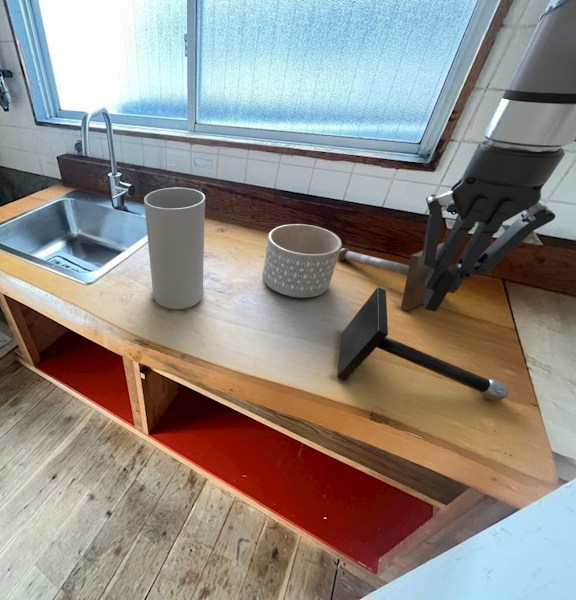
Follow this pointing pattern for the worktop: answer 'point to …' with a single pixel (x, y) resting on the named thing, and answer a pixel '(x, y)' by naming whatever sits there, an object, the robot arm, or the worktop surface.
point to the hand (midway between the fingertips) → (429, 305)
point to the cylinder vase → (176, 245)
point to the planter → (300, 259)
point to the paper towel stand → (414, 273)
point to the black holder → (400, 349)
